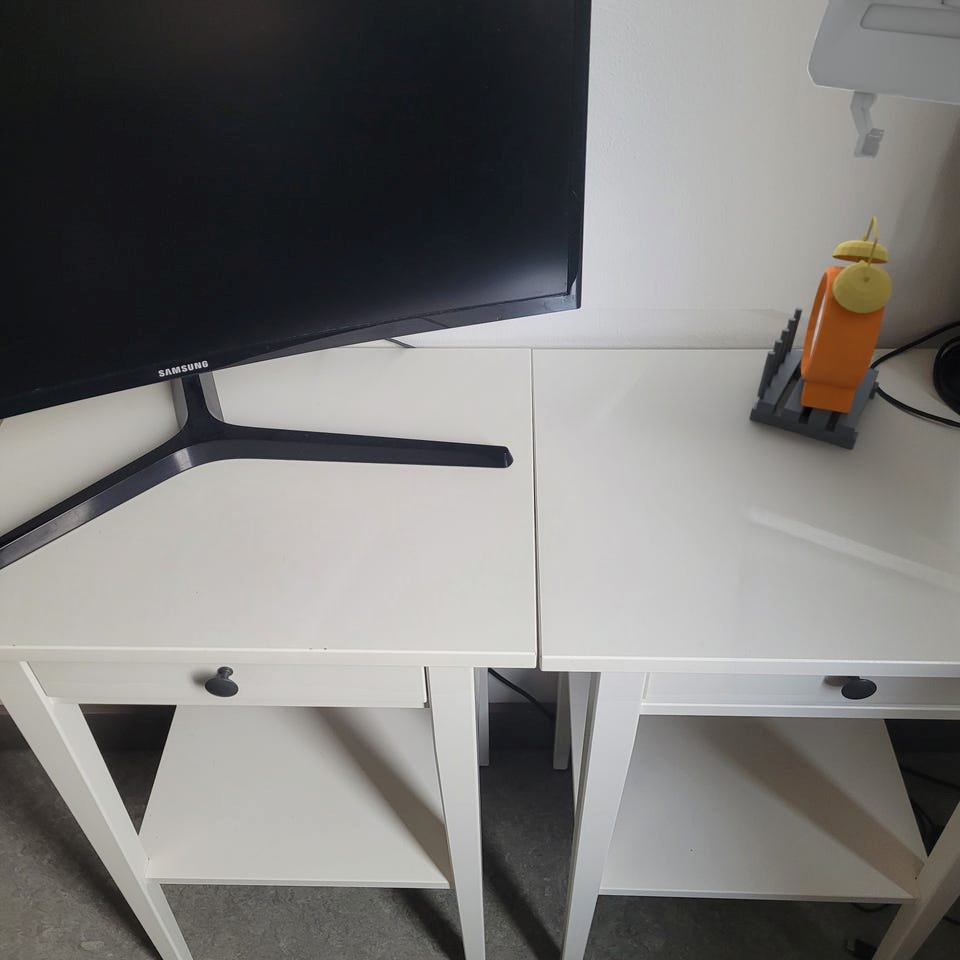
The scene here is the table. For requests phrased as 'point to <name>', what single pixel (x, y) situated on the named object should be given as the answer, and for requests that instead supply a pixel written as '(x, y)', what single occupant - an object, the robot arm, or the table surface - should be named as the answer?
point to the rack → (775, 383)
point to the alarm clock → (845, 325)
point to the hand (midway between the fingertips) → (932, 167)
